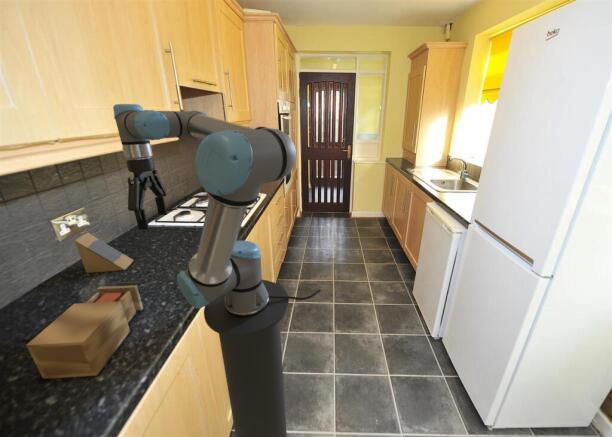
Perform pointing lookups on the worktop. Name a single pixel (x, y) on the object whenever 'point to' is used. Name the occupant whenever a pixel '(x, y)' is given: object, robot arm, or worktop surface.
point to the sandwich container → (100, 255)
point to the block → (110, 297)
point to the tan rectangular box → (80, 340)
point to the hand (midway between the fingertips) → (154, 221)
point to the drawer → (123, 297)
